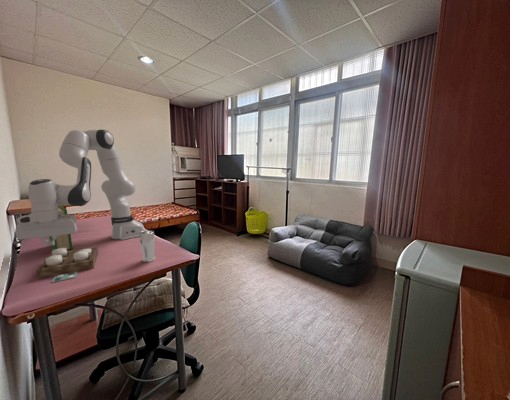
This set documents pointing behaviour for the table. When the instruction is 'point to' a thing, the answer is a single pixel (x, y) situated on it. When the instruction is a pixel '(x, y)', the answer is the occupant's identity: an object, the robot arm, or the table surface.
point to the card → (64, 277)
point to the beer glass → (147, 245)
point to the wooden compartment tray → (68, 264)
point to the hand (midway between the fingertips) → (50, 245)
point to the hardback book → (62, 240)
